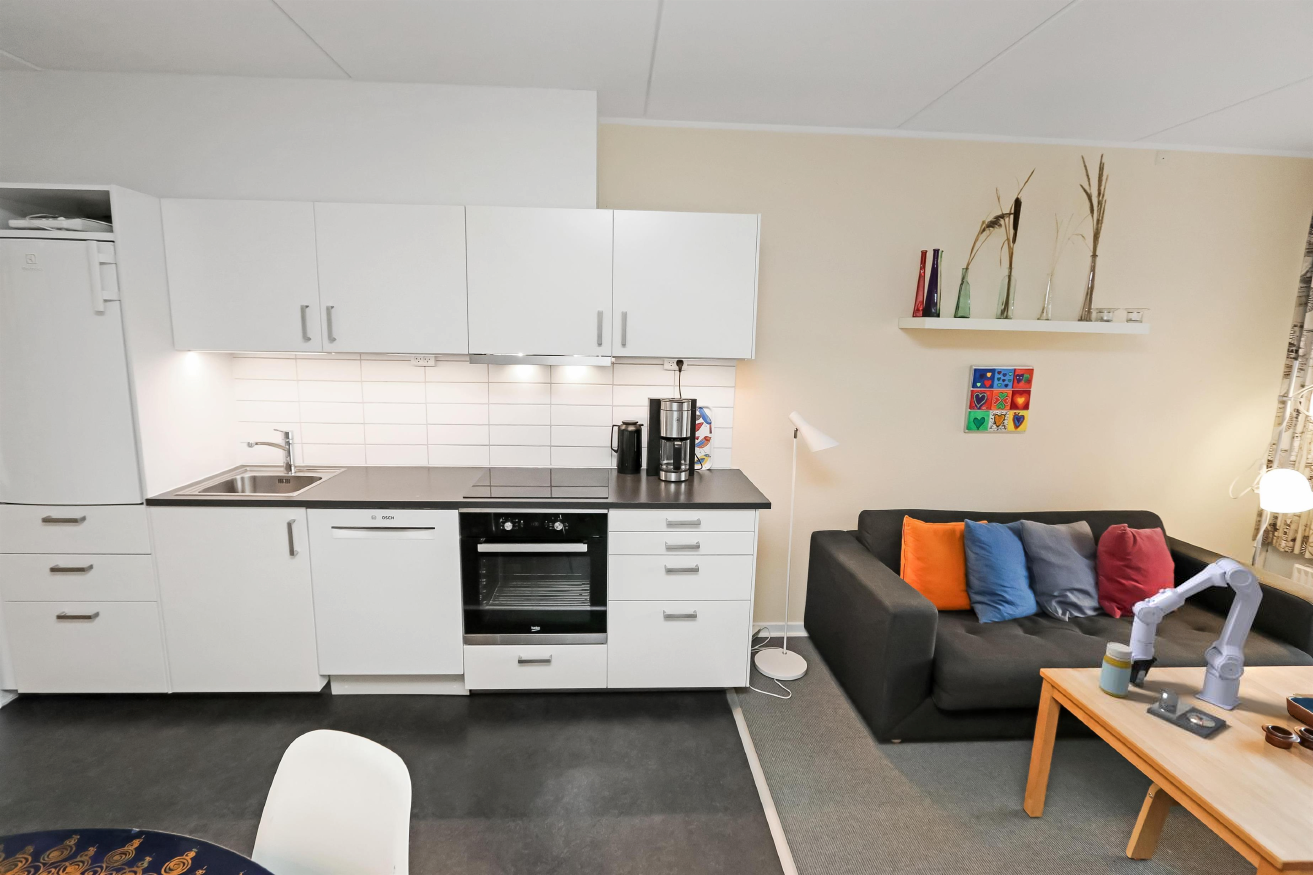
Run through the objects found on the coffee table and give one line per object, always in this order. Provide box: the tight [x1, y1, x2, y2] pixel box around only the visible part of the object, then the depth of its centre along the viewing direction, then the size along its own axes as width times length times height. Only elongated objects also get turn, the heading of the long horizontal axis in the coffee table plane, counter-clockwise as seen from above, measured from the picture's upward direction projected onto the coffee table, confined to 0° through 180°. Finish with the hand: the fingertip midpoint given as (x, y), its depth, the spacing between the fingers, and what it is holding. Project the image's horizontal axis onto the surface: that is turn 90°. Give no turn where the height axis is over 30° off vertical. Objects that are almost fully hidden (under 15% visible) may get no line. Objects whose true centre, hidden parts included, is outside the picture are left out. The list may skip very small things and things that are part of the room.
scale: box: [1146, 698, 1227, 739], centre depth 175 cm, size 14×14×2 cm
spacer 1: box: [1129, 668, 1146, 688], centre depth 193 cm, size 4×4×5 cm
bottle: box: [1099, 641, 1132, 699], centre depth 186 cm, size 7×7×15 cm
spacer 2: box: [1158, 688, 1180, 713], centre depth 175 cm, size 4×4×5 cm
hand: (1135, 679), depth 193 cm, fingers open, 6 cm apart
